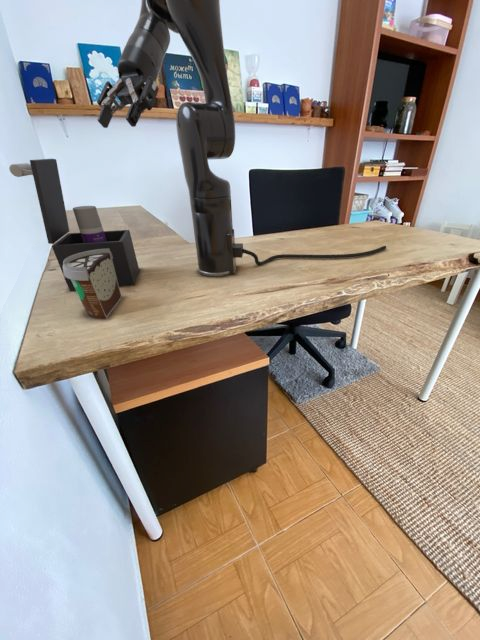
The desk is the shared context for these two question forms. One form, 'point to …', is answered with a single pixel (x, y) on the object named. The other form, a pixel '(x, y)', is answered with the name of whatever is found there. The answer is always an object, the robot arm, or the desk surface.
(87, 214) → the container
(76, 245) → the dark grey open box
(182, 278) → the desk surface
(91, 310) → the food container
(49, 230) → the lid
